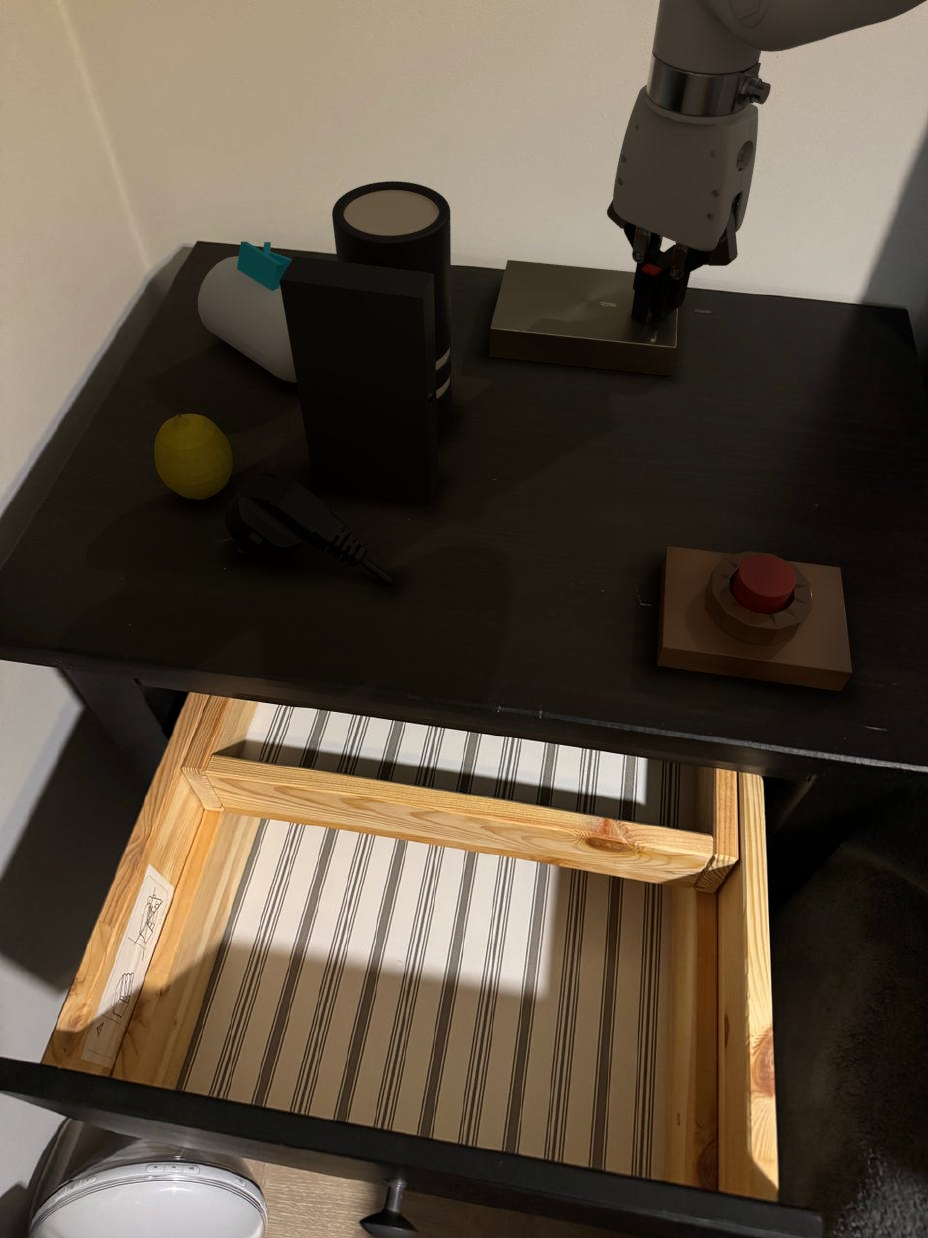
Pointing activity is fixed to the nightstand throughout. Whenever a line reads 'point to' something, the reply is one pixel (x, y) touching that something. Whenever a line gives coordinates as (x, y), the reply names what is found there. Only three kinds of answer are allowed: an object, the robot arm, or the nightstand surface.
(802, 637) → the red push button box
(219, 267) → the mug
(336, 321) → the light fixture
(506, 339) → the panel
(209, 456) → the fruit
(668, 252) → the black boxy piece
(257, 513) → the power plug
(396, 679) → the nightstand surface
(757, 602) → the button
